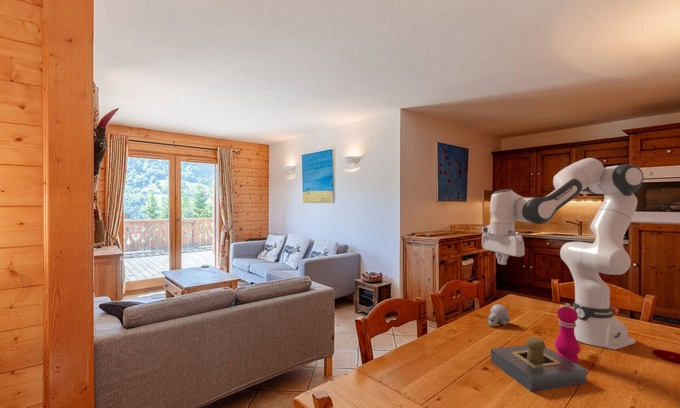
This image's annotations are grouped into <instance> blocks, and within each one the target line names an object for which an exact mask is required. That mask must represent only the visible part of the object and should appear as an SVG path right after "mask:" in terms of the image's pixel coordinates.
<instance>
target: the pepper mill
mask: <svg viewBox="0 0 680 408" xmlns="http://www.w3.org/2000/svg"><path fill="white" fill-rule="evenodd" d="M556 314H557V317H558V324H559V325H560V330H559V334H558V335H557V336H556V338H555V342H554V347H555V348H556V350H557V351H556V353H558V354H559V355H561V356H563V357H565V358H567V359H569V360H571V361H572V362H574V363H576V364H578V362H579V356H578V354H579V353H580V351H581V349H580V344H579V341H578V340H576V337H575V334H574V328H575V327H576V322H575V321H576V320H577V319H578V314H577V312H576V311H575V310H574V308H573V307H571V304H570V303H568V302H566V303H564V306H561V307H559V308H558V310H557V312H556Z"/></svg>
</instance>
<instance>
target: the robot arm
mask: <svg viewBox="0 0 680 408" xmlns="http://www.w3.org/2000/svg"><path fill="white" fill-rule="evenodd" d="M552 179H553V180H552V184H553V187H554V190H553V191H552V192H550V193H549V194H547V195H545V196H540V197H539V196H538V197H524V196H522V195H519V194H518V193H516V192H514V191H513V189H510V188H509V189H508V188H507V189H499V190H495V191H493V192H492V193H491V196H490V202H489V203H490V205H489V212H490V219H489V224H488V225H486V226H483V227H481V233H482V235H481V246H482V248H483V250H486V251H490V252H495V253H494V254H495V256H496V259H497V264H499V265H504V266H505V265H507V261H508V258H509V256H512V257H514V258H515V257H517V258H518V257H519V258H521V257H523V256H525V254H526V253H525V251H526V250H525V242H524V238H523V234H521V233H520V231H515V226H516V225H515V221H518V222H524V223H532V224H535V225H543V224H547V223H548V222H549V221H551V220H552V218H553V217H554V215H555V214H557V212H558V211H559V210H561V208H563V207H564V206H565V205H567V204H568V203H569V202H571V201H572V200H573V199H574V198H576V197H577V196H578V195H579V194H580V193H581V192H582V191H583V190H584V191H585V192H586V193H588V194H591V195H603V197H604V198H603V202H602V203H601V205H600V206H599V208H598V210H597V212H596V214H595V215H594V217H593V220H592V222H591V223H590V226H589V227H590V228H589V229H590V231H591V232H592V233H593V234H594V236H595V240H594V241H593V242H585V241H568V242H566V243H564V244H563V245H562V246H561V248H560V250H559V256H560V259H561V260H562V261H563V263H565V265H567V267H568V269H569V271H570V274H571V277H572V279H573V282H574V301H573V309H574V310H575V311H576V312H577V314H578V319H577V320H576V321H575V322H576V327H575V328H574V334H575V337H576V340H577V342H580V343H583V344H587V345H590V346H593V347H594V346H595V347H599V348H600V347H601V348H607V349H611V350H615V351H616V350H619V349H623V348H625V347H628V346H631V345H634V344H636V343H637V342H636V340H635V339H634V338H632V337H631V336H629V335H628V328H627V326H626V325H625V324H624V323H623V322H621V321H620V320H619V319H617V318H616V317H615V316H614V313H615V314H618V312H619V308H618V307H614V306H610V305H611V304H610V303H611V302H610V301H611V297H610V296H611V291H610V287H609V285H608V284H607V283H606V282H605V281H604V280H602V278H601V276H600V274H599V273H601V274H605V275H616V276H618V275H624V274H625V273H626V272H627V271H628V270H629V269H630V267H631V262H632V261H631V257H630V255H629V254H628V252H627V251H626V250H625V247H624V238H625V234H626V232H627V230H628V228H629V226H630V225H631V222H632V220H633V218H634V216H635V214H636V210H637V207H638V198H637V197H636V194H638V192H639V191H640V188H641V186H642V185H643V182H644V173H643V171H642V169H641V168H640V167H639V166H638V165H636V164H629V163H623V164H620V165H611V166H605V167H604V164H603V163H602V162H601V161H600V160H598V159H597V158H594V157H587V158H583V159H579V160H578V161H575V162H574V163H571V164H569V165H567V166H566V167H564V168H562V169H561V170H559V171H558V172H557V173H556V174H555V175H554V176H553V178H552Z"/></svg>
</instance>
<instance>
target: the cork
mask: <svg viewBox="0 0 680 408" xmlns="http://www.w3.org/2000/svg"><path fill="white" fill-rule="evenodd" d="M526 345H527V346H528V353H527V360H528V361H530V362H531V363H533V364H535V365H538V364H545V362H544V355H543V350H544V349H545V347H546V344H545V341H543V339H541V338H540V337H534V336H533V337H532V336H531V337H528V338H527V339H526Z"/></svg>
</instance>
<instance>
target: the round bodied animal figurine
mask: <svg viewBox="0 0 680 408" xmlns="http://www.w3.org/2000/svg"><path fill="white" fill-rule="evenodd" d="M508 311H509V310H508V309H507V308H506V306H505V305H502V304H498V303H497V304H494V305H492V307H491V308H490V313H487V315H488V325H489V326H490V327H491V328H492V327H495V326H496V324H499V323H500V325H501V326H506V325H507V324H508V322H510V321H511V316H510V315H509V312H508Z"/></svg>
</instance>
